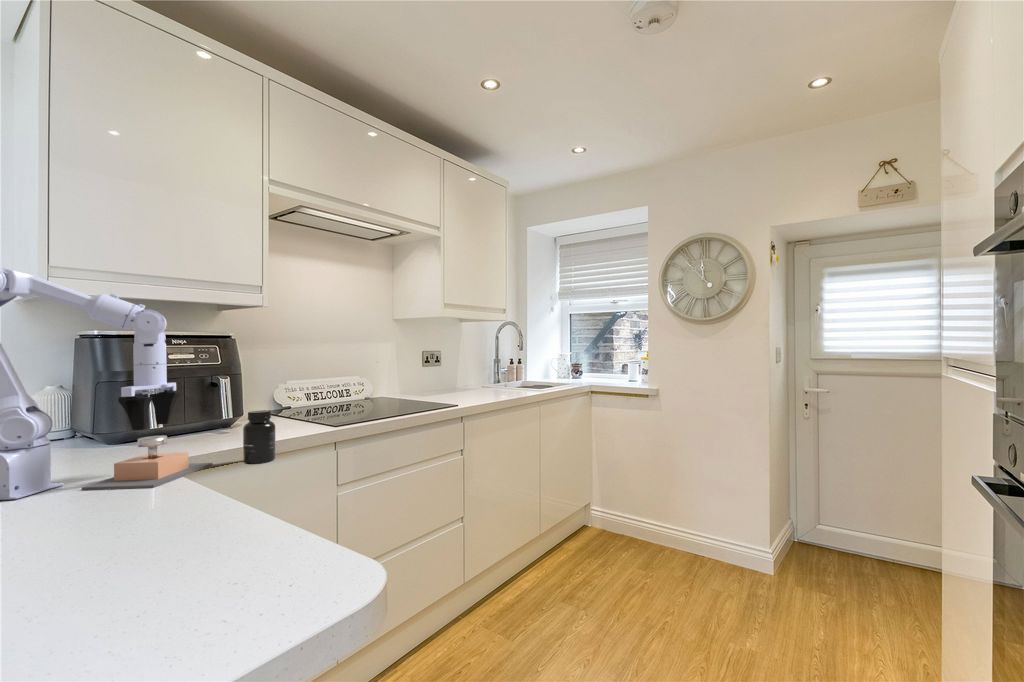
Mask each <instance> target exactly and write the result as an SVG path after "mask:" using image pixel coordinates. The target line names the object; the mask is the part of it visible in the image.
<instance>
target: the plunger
mask: <svg viewBox="0 0 1024 682" xmlns="http://www.w3.org/2000/svg"><path fill="white" fill-rule="evenodd" d="M166 444H168V436H167V435H163V434H162V435H152V436H151V435H150V436H143V437H139V438H137V447H138V448H147V454H148V459H156V458H158V457H157V453H158V446H162V445H163V446H164V445H166Z"/></svg>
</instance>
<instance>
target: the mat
mask: <svg viewBox="0 0 1024 682" xmlns="http://www.w3.org/2000/svg"><path fill="white" fill-rule="evenodd" d="M213 463H214V462H200V463H199V462H195V463H193V462H192V463H189V468H187V469H184V470H182V471H179V472H176V473H174V474H171V475H168V476H165V477H163V478H160V479H147V480H117V481H114V476H113V477H110V478H108V479H104V480H101V481H98V482H94V483H91V484H89V485H85V486H82V487H81V491H88V490H89V491H92V490H94V491H96V490H97V491H98V490H123V489H124V490H126V489H128V490H129V489H151V488H152V489H153V488H156V487H159V486H162V485H164V484H167V483H169V482H172V481H175V480H177V479H179V478H183V477H185V476H187V475H191V474H192V473H195V472H197V471H201V470H203V469H206V468H208V467H211V466H213Z"/></svg>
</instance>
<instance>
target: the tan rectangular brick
mask: <svg viewBox="0 0 1024 682" xmlns="http://www.w3.org/2000/svg"><path fill="white" fill-rule="evenodd" d="M157 457H158V458H156V459H148V453H146V454H141V455H139V456H135V457H132V458H128V459H125V460H122V461H118V462H114V463H113V477H114V481H117V480H147V479H160V478H163V477H165V476H168V475H171V474H174V473H176V472H179V471H182V470H184V469H187V468H189V464H190V463H189V452H187V451H185V452H160V453H158V452H157Z"/></svg>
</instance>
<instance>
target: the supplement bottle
mask: <svg viewBox="0 0 1024 682" xmlns="http://www.w3.org/2000/svg"><path fill="white" fill-rule="evenodd" d="M271 413H272V412H271V410H269V409H267V410H265V409H263V410H261V409H259V410H252V411H248V412H247V421H248V422H247V423H245V425H244V426H243V428H242V446H243V447H242V454H243V456H242V458H243V463H244V464H245V465H263V464H267V463H271V462H274V461H275V460H276V455H277V454H276V453H277V452H276V451H277V450H276V424H275V422H273V421H271V419H272V415H271Z"/></svg>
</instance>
